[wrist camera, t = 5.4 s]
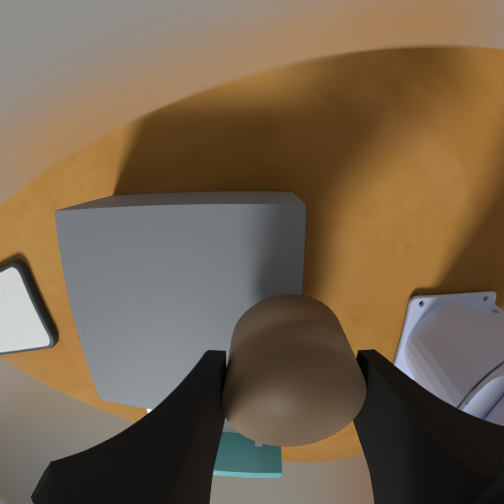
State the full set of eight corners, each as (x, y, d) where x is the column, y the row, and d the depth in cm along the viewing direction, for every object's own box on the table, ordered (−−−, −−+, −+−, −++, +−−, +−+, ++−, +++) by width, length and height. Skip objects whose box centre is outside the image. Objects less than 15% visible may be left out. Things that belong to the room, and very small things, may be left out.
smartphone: (28, 252, 21) (-37, 287, 23) (17, 258, 20) (-46, 292, 21) (67, 340, 23) (-8, 351, 25) (58, 348, 22) (-15, 357, 23)
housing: (285, 356, 22) (290, 419, 15) (133, 347, 22) (100, 399, 16) (292, 191, 18) (306, 205, 12) (112, 195, 19) (54, 211, 12)
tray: (279, 431, 23) (281, 477, 18) (149, 420, 24) (132, 461, 19) (288, 320, 20) (294, 368, 15) (121, 312, 20) (88, 350, 15)
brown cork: (351, 295, 11) (382, 346, 8) (331, 385, 12) (347, 443, 9) (232, 291, 11) (220, 344, 8) (231, 383, 12) (223, 444, 9)
